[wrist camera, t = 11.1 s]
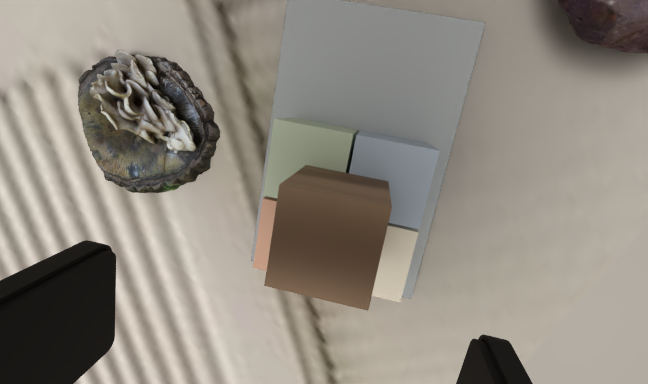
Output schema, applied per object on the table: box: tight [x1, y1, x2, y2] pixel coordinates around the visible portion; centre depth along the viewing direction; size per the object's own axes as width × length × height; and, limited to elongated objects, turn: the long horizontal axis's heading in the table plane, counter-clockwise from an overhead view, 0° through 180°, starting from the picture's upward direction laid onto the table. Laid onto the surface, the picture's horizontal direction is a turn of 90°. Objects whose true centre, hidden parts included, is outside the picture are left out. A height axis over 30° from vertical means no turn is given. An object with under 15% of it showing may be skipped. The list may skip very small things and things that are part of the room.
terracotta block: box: [253, 196, 277, 271], centre depth 25 cm, size 5×5×5 cm
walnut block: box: [264, 165, 392, 310], centre depth 19 cm, size 5×5×6 cm
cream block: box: [372, 223, 419, 302], centre depth 25 cm, size 5×5×5 cm
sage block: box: [263, 117, 358, 198], centre depth 24 cm, size 5×5×5 cm
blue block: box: [349, 130, 440, 229], centre depth 23 cm, size 5×5×5 cm
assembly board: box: [251, 0, 485, 299], centre depth 26 cm, size 20×13×1 cm, turn 170°
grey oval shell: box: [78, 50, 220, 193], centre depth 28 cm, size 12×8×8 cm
